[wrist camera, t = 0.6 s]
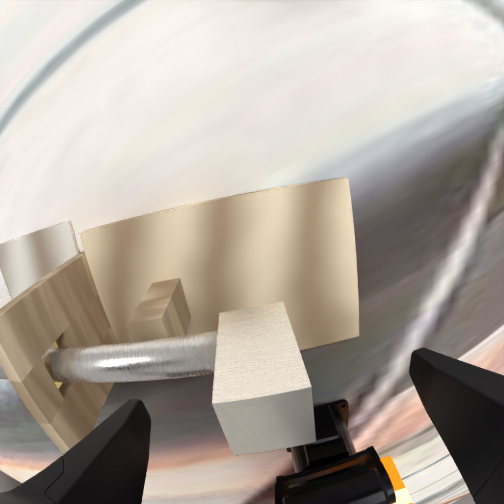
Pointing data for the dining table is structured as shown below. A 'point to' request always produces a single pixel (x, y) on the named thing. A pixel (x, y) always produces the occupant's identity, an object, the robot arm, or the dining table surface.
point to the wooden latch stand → (173, 285)
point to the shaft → (216, 374)
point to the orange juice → (396, 482)
